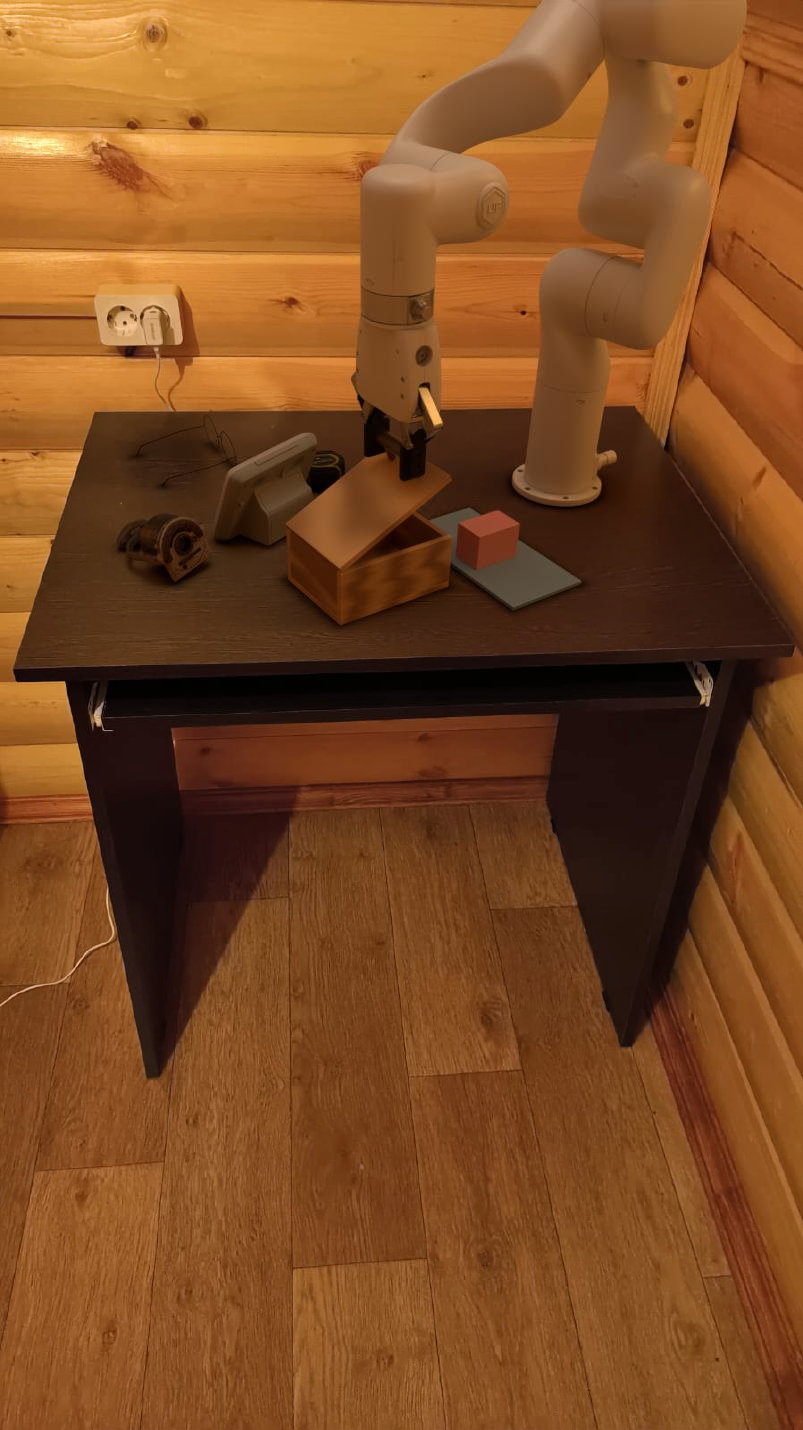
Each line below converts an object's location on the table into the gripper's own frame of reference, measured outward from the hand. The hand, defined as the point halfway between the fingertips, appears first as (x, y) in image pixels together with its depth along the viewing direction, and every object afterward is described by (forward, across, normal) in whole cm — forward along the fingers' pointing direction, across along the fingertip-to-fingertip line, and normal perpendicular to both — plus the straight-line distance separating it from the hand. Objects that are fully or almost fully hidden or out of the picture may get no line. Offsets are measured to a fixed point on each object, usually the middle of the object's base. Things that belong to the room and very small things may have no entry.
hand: (394, 464), depth 116 cm
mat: (+15, -3, -13) cm, 20 cm away
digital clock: (+15, +19, +6) cm, 25 cm away
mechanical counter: (+14, +18, +21) cm, 32 cm away
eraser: (+15, -3, -12) cm, 19 cm away
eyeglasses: (+15, +40, +7) cm, 43 cm away
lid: (+4, 0, +4) cm, 5 cm away
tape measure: (+15, +26, -6) cm, 31 cm away
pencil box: (+15, 0, +4) cm, 15 cm away
